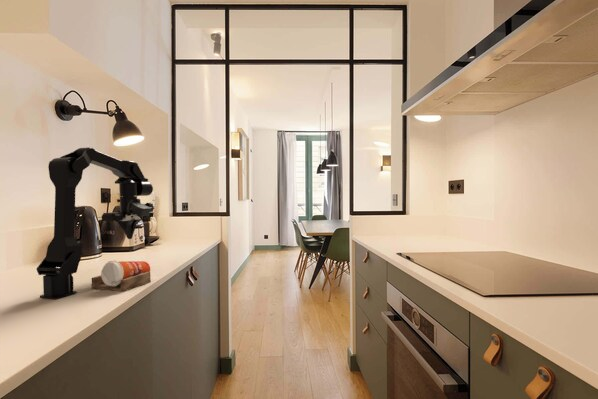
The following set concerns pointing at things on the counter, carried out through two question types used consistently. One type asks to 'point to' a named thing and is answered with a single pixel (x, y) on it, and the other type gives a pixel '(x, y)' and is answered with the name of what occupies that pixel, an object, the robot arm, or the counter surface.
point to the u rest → (122, 282)
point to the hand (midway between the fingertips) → (129, 238)
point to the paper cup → (122, 271)
